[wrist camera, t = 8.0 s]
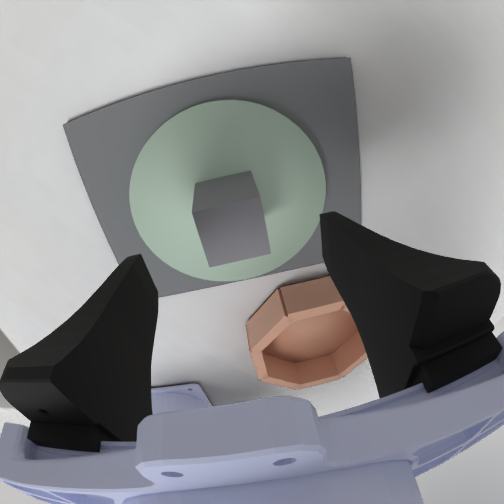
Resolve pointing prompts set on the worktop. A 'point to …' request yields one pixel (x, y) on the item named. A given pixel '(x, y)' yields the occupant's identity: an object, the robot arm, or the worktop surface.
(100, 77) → the worktop surface
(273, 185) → the lid
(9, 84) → the worktop surface
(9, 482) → the robot arm
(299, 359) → the bowl
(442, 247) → the worktop surface
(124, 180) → the mat
